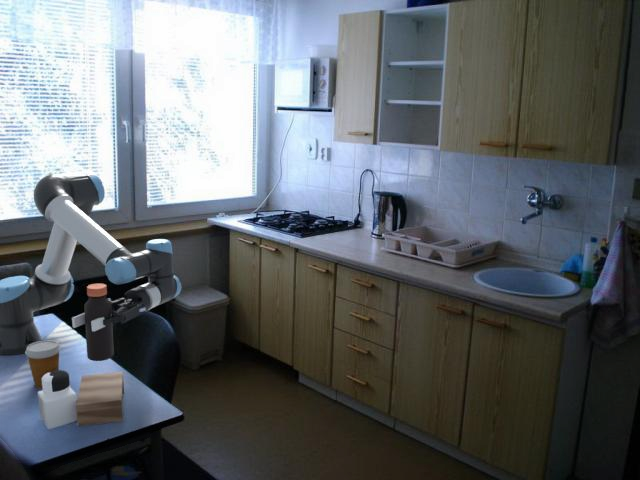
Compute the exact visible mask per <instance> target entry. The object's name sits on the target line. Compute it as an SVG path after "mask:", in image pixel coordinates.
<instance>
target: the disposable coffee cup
mask: <svg viewBox="0 0 640 480" xmlns="http://www.w3.org/2000/svg"><path fill="white" fill-rule="evenodd" d="M61 348H62V347H61V345H60V344H59V342H58V341H57V340H52V339H47V340H41V341H38V342H34V343H32V344H30V345H28V346H27V349H26V351H25V356H26V357H27V360H28V365H29V367H30V371H31V376H32V380H33V383H34V384H33V385H34V387H35V388H37V389H43V388H42V377H43V376H44V375H45V374H47V373H49V372H51V371H57V370H59V365H60V364H59V363H60V352H61V351H60V350H61Z"/></svg>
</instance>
